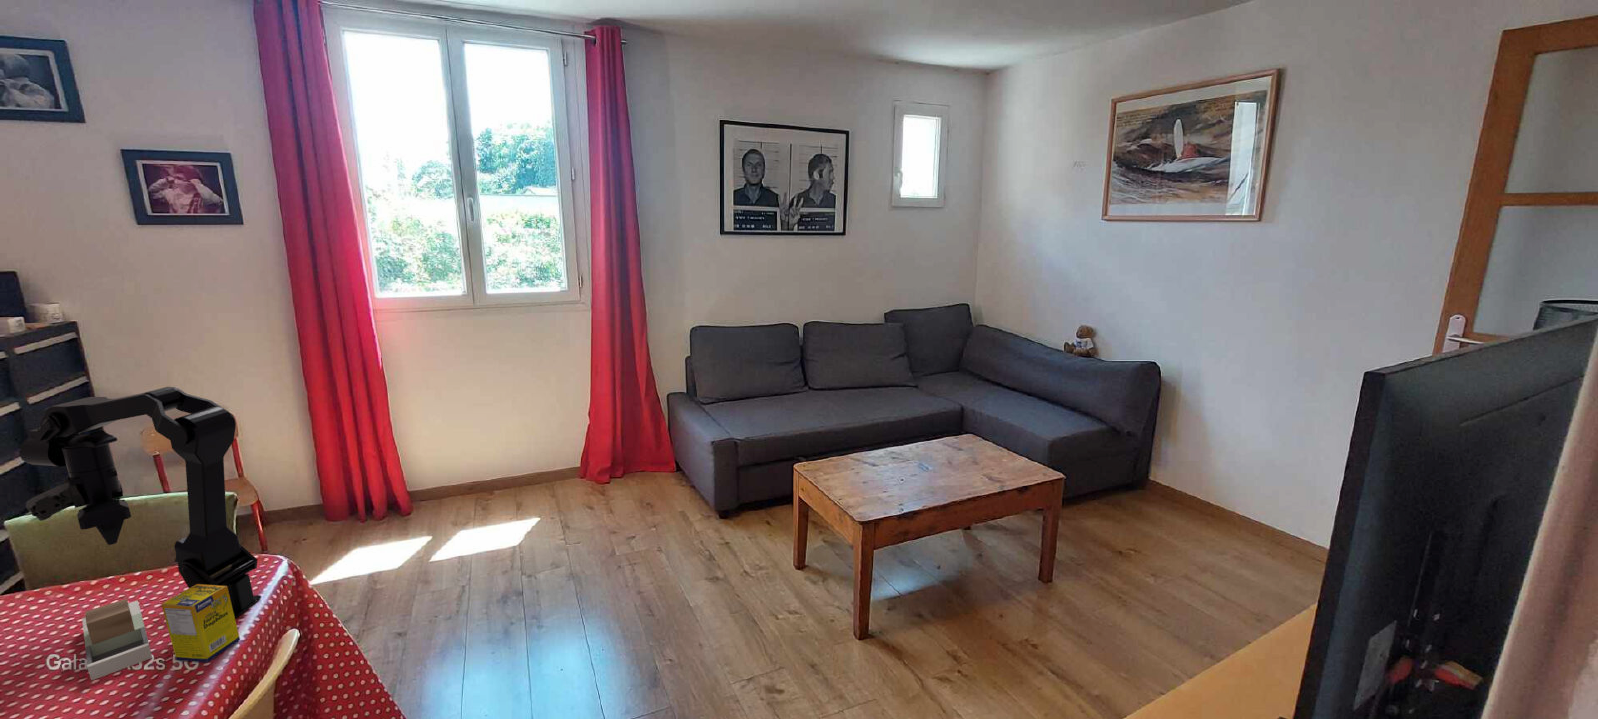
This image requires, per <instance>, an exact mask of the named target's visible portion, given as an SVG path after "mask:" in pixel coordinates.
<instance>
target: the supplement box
mask: <svg viewBox="0 0 1598 719" xmlns="http://www.w3.org/2000/svg"><path fill="white" fill-rule="evenodd" d="M161 609H162V612H163V615H164V619H165V623H166V627H167V631H168V634H169V637H170V642H171V644H172V649H173V652H174V656H175V660H176V661H178V662H179V661H180V662H181V661H182V662H195V663H197V662H198V663H207V664H208V663H209V662H211V661H212V660H213V659H215V658H216V657H218V656H219V655H221V654H222V653H224V652H225V651H226V650H228V649H230V648H231V647H232V646H233V645H235V644H237V643H238V642H240V640H241V638H240V633H239V630H238V626H237V622H236V618H235V617H234V612H233V609H232V604H231V600H230V596H229V592H228V588H227V586H218V585H203V584H196V585H194V586H193V587H191V588H187V589H185V590H184V591H182V592H181V593H178V594H177V595H175V596H173V597H171V598H169V599H168V600H166V601H163V602H162V604H161ZM236 642H237V643H236Z"/></svg>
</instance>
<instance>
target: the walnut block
mask: <svg viewBox="0 0 1598 719" xmlns="http://www.w3.org/2000/svg"><path fill="white" fill-rule="evenodd" d="M128 603H129V602H128V599H127V598H124V599H122V600H118V601H114V602H111V603H109V604H106V605H102V606H99V607H96V608H94V609H89V610H86V611H84V616H85V617H86V625H87V628H88V632H89V635H90V638H91V642H92V645H93V644H96V643H99V642H102V641H105V640H108V639H111V638H114V637H117V636H120V635H122V634H125V633H128V632H131V631H134V630H135V629H134V624H133V620H132V616H131V612H130V609H129V605H128Z"/></svg>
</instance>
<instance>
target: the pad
mask: <svg viewBox="0 0 1598 719" xmlns="http://www.w3.org/2000/svg"><path fill="white" fill-rule="evenodd" d="M141 614H142V612H141V613H139V614H136V615H133V616H132V620H133V624H134V629H135V630H134V631H131V632H128V633H125V634H122V635H120V636H117V637H114V638H111V639H108V640H105V641H102V642H99V643H96V644H93V645H92V642H91V638H90V635H89V632H88V630H87V631H83V639H84V640H83V641H84V647H87V646H90V648H91V652H92V655H93V657H94V656H97V655H100V654H102V653H105V652H108V651H111V650H114V649H117V648H119V647H122V646H125V645H128V644H131V643H133V642H136V641H139V640H142V639H143V637H142V633H141V629H140V628H142V627H145V622H144V619H142V618H143V615H141ZM145 628H146V627H145ZM146 630H147V629H145V631H146ZM146 632H147V631H146ZM146 635H147V633H146ZM147 636H148V635H147Z"/></svg>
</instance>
